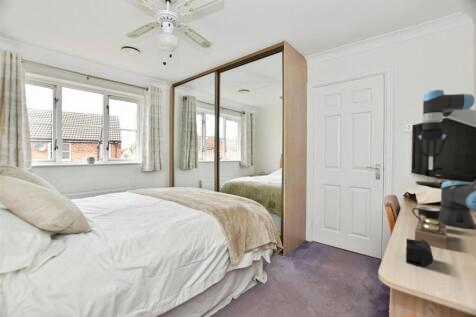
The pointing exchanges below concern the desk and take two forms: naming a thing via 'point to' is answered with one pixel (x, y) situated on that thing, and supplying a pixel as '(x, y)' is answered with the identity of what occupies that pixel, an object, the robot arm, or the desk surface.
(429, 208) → the coffee mug
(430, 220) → the knob
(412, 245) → the end cap
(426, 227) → the knob
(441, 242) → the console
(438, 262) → the desk surface
